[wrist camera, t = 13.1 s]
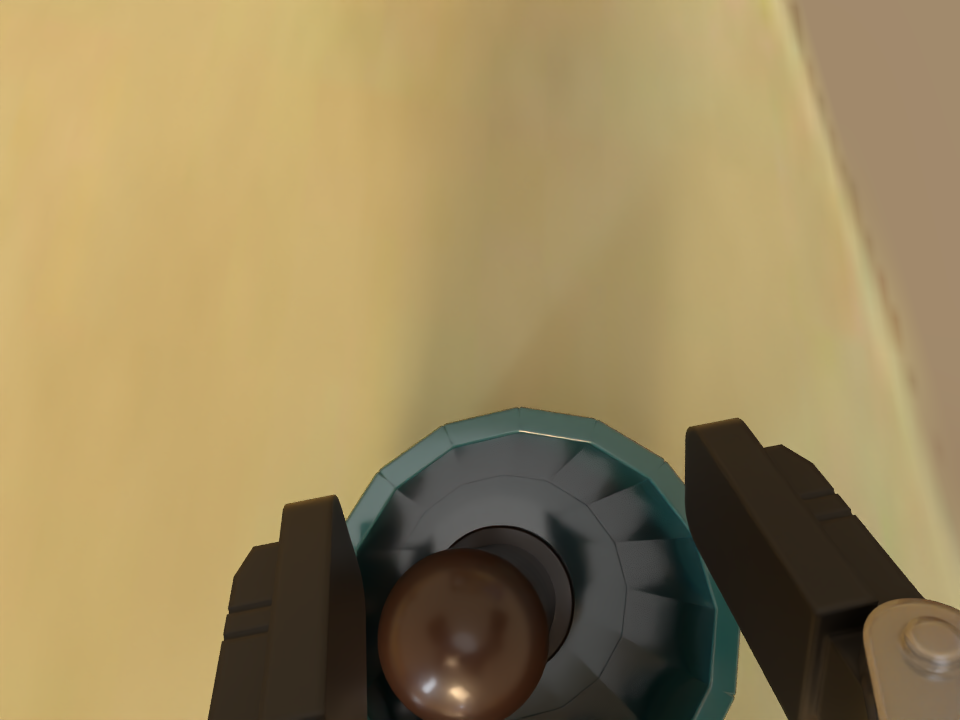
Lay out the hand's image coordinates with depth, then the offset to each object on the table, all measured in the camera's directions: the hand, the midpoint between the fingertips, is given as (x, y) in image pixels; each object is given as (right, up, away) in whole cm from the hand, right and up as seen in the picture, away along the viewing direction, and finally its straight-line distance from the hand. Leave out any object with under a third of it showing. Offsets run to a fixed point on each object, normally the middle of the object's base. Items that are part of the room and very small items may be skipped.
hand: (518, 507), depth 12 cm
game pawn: (0, -4, +10) cm, 11 cm away
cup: (0, -5, +11) cm, 12 cm away
